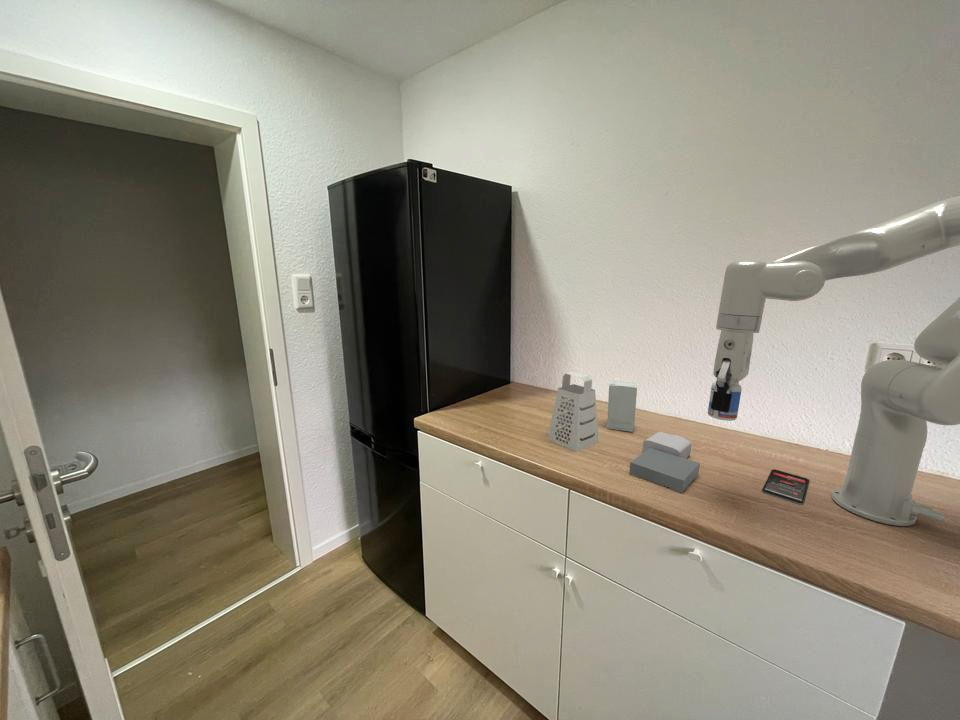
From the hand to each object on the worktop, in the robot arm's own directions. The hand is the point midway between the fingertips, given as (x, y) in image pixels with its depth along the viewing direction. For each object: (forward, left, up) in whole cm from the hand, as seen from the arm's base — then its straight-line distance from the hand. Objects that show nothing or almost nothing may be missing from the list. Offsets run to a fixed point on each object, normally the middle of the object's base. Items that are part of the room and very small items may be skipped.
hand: (723, 406), depth 82 cm
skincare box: (+31, -21, -20) cm, 43 cm away
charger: (+13, -15, -20) cm, 28 cm away
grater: (+36, -1, -20) cm, 41 cm away
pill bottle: (0, 0, -2) cm, 2 cm away
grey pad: (+10, 0, -20) cm, 22 cm away
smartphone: (-12, -15, -20) cm, 28 cm away
